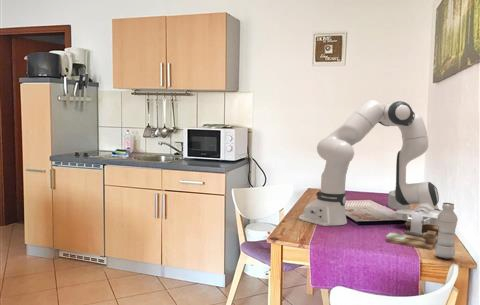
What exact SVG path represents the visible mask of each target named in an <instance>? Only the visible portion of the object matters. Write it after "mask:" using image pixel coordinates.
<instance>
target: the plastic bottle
mask: <svg viewBox="0 0 480 305" xmlns="http://www.w3.org/2000/svg"><path fill="white" fill-rule="evenodd" d="M441 208H442V209H441V210H442V211H441V212H440V213H439V215H438V226H437V236H436V239H437V243H436V245H435V246H434V254H435V256H436V257H438V258H441V259H446V260H447V259H448V260H450V259H453V258H454V257H455V254H456V248H455V247H456V246H455V236H456V235H455V233H456V229H457V225H458V220H459V219H458V216H457V214H456V212H454V210H455V204H454V203H452V202H442V207H441Z"/></svg>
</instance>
